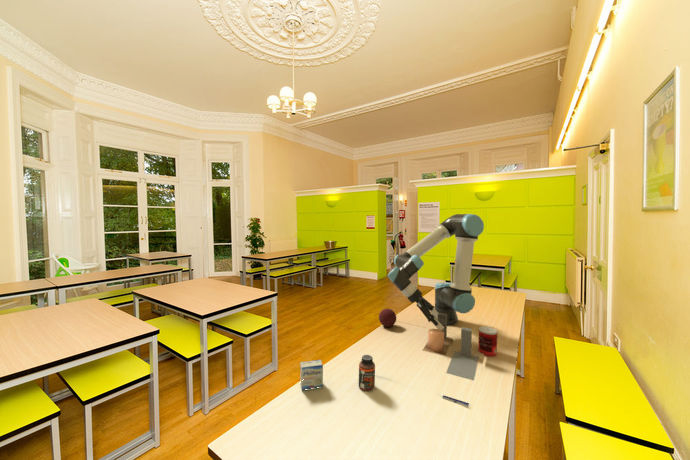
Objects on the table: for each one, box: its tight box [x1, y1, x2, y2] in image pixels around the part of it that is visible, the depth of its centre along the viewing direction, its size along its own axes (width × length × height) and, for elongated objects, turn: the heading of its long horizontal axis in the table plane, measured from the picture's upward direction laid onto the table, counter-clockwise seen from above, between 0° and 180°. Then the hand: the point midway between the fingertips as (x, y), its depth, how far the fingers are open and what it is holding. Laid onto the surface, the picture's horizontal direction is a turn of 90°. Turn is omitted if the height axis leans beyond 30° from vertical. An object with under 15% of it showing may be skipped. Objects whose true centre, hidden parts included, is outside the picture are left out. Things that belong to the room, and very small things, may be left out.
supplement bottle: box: [358, 354, 376, 392], centre depth 103 cm, size 6×6×11 cm
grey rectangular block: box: [445, 326, 479, 381], centre depth 117 cm, size 21×10×13 cm, turn 150°
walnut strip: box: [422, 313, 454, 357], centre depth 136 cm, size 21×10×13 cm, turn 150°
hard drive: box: [442, 395, 470, 408], centre depth 100 cm, size 2×8×12 cm
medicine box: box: [299, 359, 324, 391], centre depth 104 cm, size 8×4×9 cm, turn 106°
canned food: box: [477, 326, 498, 358], centre depth 130 cm, size 8×8×11 cm
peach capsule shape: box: [427, 328, 444, 352], centre depth 131 cm, size 7×7×8 cm
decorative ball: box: [378, 308, 397, 328], centre depth 161 cm, size 10×10×10 cm
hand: (441, 324), depth 143 cm, fingers open, 13 cm apart
